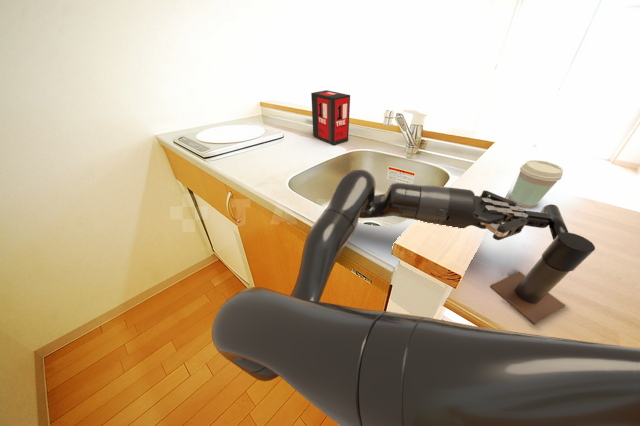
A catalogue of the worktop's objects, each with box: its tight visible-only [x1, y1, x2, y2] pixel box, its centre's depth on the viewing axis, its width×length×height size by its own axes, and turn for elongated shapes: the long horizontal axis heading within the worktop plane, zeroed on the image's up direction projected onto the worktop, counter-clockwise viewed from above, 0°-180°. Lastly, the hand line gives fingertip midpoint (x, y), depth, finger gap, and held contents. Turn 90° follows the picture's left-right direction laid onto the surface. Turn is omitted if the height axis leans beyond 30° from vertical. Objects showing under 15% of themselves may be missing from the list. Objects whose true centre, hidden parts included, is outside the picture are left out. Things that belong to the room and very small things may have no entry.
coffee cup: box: [508, 159, 564, 209], centre depth 62 cm, size 9×8×12 cm
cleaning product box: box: [310, 89, 351, 146], centre depth 107 cm, size 16×9×20 cm, turn 37°
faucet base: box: [489, 256, 571, 326], centre depth 39 cm, size 8×8×10 cm
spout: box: [539, 203, 596, 272], centre depth 38 cm, size 15×4×4 cm, turn 150°
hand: (547, 221), depth 40 cm, fingers closed
